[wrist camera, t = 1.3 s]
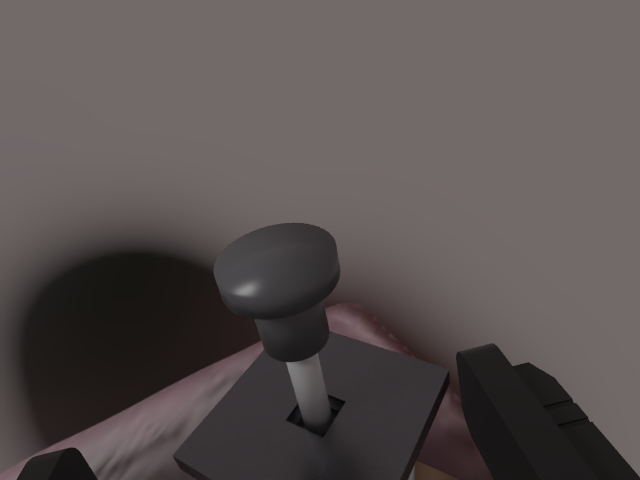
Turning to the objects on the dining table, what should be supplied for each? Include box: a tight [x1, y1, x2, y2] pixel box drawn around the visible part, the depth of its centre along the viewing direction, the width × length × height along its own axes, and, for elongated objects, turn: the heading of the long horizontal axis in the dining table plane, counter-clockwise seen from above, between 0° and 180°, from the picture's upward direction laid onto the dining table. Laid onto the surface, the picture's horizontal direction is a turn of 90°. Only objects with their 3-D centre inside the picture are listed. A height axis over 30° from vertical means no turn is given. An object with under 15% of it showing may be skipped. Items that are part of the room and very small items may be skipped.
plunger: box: [214, 223, 340, 434], centre depth 22 cm, size 5×5×11 cm
